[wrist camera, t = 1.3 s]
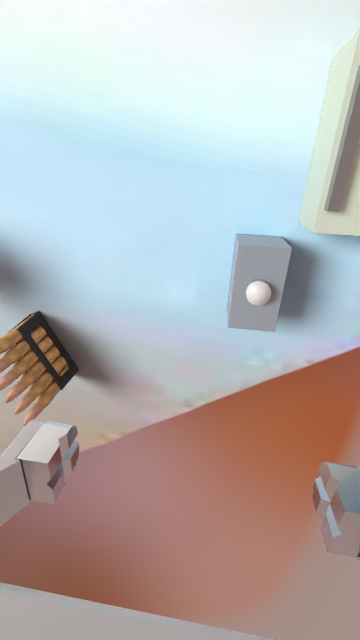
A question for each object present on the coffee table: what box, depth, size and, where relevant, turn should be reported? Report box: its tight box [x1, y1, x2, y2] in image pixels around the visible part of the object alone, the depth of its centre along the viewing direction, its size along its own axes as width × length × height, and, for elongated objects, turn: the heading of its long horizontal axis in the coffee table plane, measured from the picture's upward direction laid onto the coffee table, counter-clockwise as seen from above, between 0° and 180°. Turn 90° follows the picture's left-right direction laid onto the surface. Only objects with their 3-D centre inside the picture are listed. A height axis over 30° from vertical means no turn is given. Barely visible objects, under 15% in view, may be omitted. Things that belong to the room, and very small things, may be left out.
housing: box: [227, 234, 292, 332], centre depth 32 cm, size 9×5×7 cm, turn 178°
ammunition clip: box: [0, 311, 79, 425], centre depth 39 cm, size 11×2×12 cm, turn 24°
